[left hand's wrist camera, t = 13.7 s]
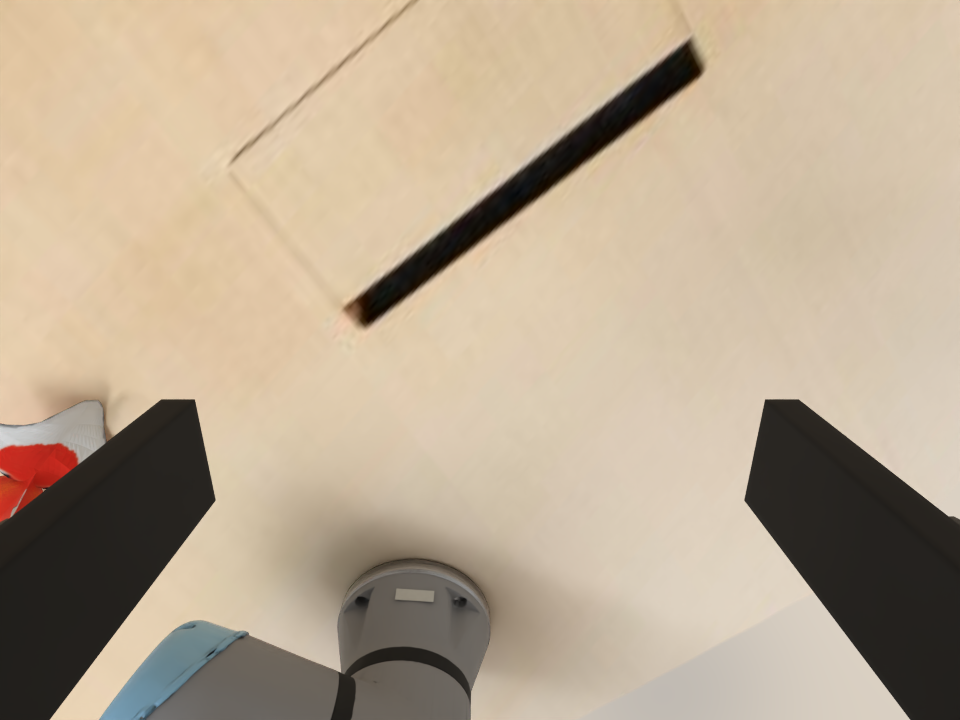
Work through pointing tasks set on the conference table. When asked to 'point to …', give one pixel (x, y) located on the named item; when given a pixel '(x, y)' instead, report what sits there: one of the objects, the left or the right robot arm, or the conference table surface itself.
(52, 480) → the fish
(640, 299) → the conference table surface
